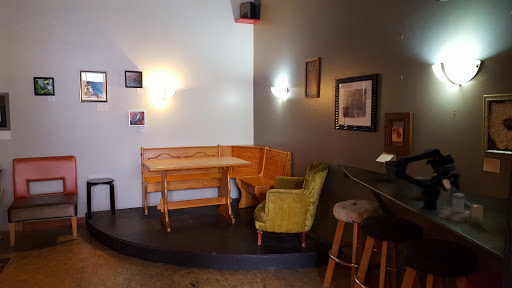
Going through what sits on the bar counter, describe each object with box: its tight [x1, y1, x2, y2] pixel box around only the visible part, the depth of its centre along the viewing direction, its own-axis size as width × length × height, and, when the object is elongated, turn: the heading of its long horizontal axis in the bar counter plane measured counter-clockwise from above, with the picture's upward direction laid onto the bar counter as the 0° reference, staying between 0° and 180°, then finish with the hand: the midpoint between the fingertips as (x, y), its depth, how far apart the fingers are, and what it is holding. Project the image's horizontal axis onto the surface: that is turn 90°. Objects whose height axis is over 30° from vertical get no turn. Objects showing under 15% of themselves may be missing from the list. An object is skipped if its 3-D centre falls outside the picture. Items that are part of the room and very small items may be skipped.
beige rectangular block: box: [468, 203, 484, 227], centre depth 203 cm, size 6×6×10 cm
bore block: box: [437, 207, 470, 224], centre depth 216 cm, size 14×14×3 cm
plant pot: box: [384, 160, 401, 184], centre depth 311 cm, size 15×15×16 cm
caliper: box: [464, 199, 471, 208], centre depth 240 cm, size 20×1×6 cm, turn 6°
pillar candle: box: [413, 176, 431, 201], centre depth 258 cm, size 10×10×15 cm
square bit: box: [451, 192, 466, 214], centre depth 216 cm, size 4×4×13 cm
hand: (452, 190), depth 221 cm, fingers open, 9 cm apart
